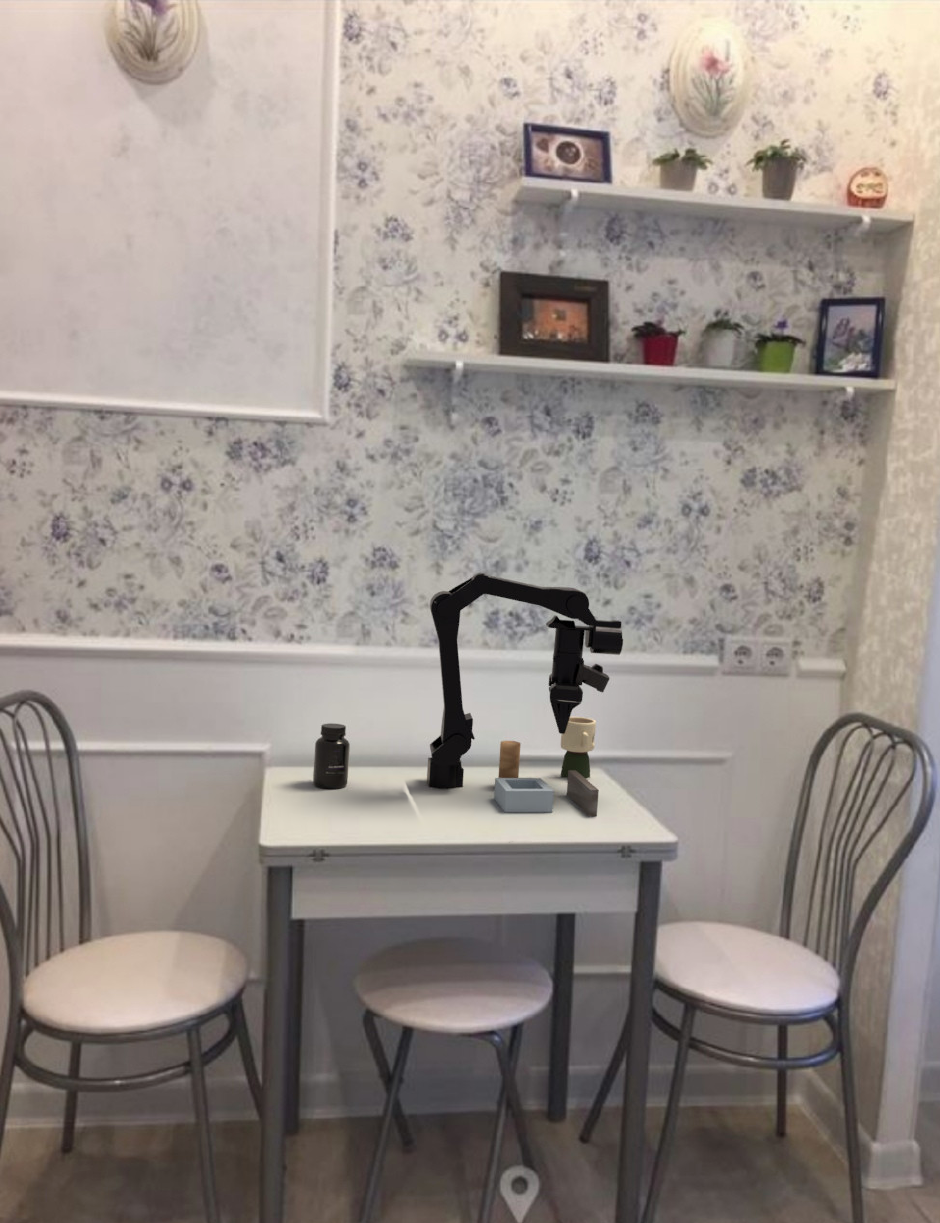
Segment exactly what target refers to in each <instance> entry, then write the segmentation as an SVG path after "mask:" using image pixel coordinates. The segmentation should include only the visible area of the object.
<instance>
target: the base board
mask: <svg viewBox="0 0 940 1223" xmlns="http://www.w3.org/2000/svg"><path fill="white" fill-rule="evenodd" d="M566 785H567V786H566V788H567V789H566V796H567V797H568V798H569V799H570V800H571V801H572V802H574V803H575V805H576V806H578V807H579V808H580V809H581V810H582V811H583V812H584V813H585V814H586V815H587V816H588V817H597V816H598V805H599V804H598V803H599V789H598V788H597V787H596V786H595V785H594V784H593V783H591V782H590V781H589V780H588V779H587V778H586V779H585V778H584V777H583V776H582V775H581V774H579V773H578V772H577V771H576V770H568V778H567V784H566Z"/></svg>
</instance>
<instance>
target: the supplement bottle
mask: <svg viewBox="0 0 940 1223" xmlns="http://www.w3.org/2000/svg"><path fill="white" fill-rule="evenodd" d="M346 732H347V730H346V725H345V724H340V723H333V722H332V723H322V724H321V729H320V735H321V737H319V738H317V740H316V741H315V744H314V758H313V773H312V774H313V775H312V776H313V777H312V778H313V779H312V781H313V785H314V786H315V787H318V788H321V789H324V790H325V789H327V790H334V789H335V790H338V789H342V788H345V787H346V786H347V785H348V781H349V780H348V779H349V762H350V749H351V748H350V747H351V745H350V741H349V740H348V739H346V738H345V737H346V735H347V733H346Z"/></svg>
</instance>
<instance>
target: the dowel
mask: <svg viewBox="0 0 940 1223" xmlns="http://www.w3.org/2000/svg"><path fill="white" fill-rule="evenodd" d="M520 757H521V742H519V741H515V740H502V741H500V745H499V764H498V777H497V778H519V773H520Z"/></svg>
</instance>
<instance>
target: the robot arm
mask: <svg viewBox="0 0 940 1223" xmlns="http://www.w3.org/2000/svg"><path fill="white" fill-rule="evenodd" d="M483 595H490V596H494V597H498V598H503V599H507V600H512V601H516V602H521V603H527V604H530V605H535V606H539V607H542V608H545V609H548V610H549V611H552V612H554V613H557V614H558V615H561V616H564V617H566V618H569V619H568V620H567V619H560V618H559V617H558V615H557V614H556V615H553V617H552V618H551V619H550V620H548V621H546V623H545V626H546V627H547V628H549V629H555V634H554V643H553V644H554V646H553V654H552V667H551V668H552V669H551V673H550V675H548V691H549V703H550V705H551V709H552V713H553V717H554V719H555V723H556V727H557V731H558V734H560V735H561V734H564V733H565V731H566V728H567V725H568V722H569V718H570V717H571V715H572V712H573V710H574V709H575V708H576V707H578V706H579V705H580V704H582V702H583V696H584V695H583V693H584V691H583V688H581V686H583V684H585V685H587V686H589V687H592V688H593V689H596V691H597V692H600V693H604V691H605V689H606V687H607V685H608V682H609V681H610V679H611V678H610V676H609V675H608V674H607V673H604V671H603V669H604V668H603V666H602V665H600V664H597V663H595V664H593V665H592V666H590V665H586V664H585V660H584V657H583V652H584V643H585V648H586V649H587V648H588V649H589V651H590V653H591V654H601V655H615V656H616V655H617V656H620V655H621V653H622V650H623V646H624V638H623V629H622V621H620V620H619V619H618V620H617V619H615V620H614V619H612V620H605V619H603V620H602V619H601V620H600V619H596V616H594V615H593V612H592V610H591V609H590V601H589V597H588V595H587V594H586V593H585V592H584V591H581V590H579V589H577V588H575V587H567V586H565V587H562V586H541V585H534V584H530V583H526V582H522V581H521V582H520V581H517V580H511V579H507V578H502V577H497V576H493V575H490V574H489V575H488V574H487V573H485V572H478V573H477V572H476V573H475V574H473V576H472V577H470V578H469V579H467V580H464V582H461V583H459V584H458V585H456V586H455V587H453V588H451V589H449V590H447V591H446V590H442V591H438V592H437V593H435V594H434V595H432V597H431V599H430V600H429V610H430V613H431V616H432V621H433V624H434V627H435V628H434V629H435V632H436V637H437V640H438V650H439V663H440V675H441V685H442V697H443V698H442V699H443V710H442V717H441V718H442V719H441V725H440V726H441V727H440V728H441V729H440V735H439V736H438V737H437V738H435V739H434V740H433V741H432V742H431V743H429V750H430V755H431V757H427V772H426V785H427V786H428V788H433V789H439V790H453V789H456V788H463V787H464V770H465V769H464V767H463V766H462V760H461V758H462V756H464V755H465V754H467V753H468V751H470V749H471V746H472V740H475V739H476V738H475V735H474V733H473V724H474V719H473V716H472V714H471V712H467V713H465V711H464V708H463V696H462V693H463V692H462V684H461V681H462V680H461V671H460V670H461V669H460V660H459V657H460V656H459V647H458V635H459V629H460V628H459V627H460V621H461V611H462V610H464V609H465V608H467V607H468V606H470V605H471V604H472V603H474V602H475V601H476V600H477V599H479V598H480V597H482V596H483ZM570 619H571V620H570ZM572 619H573V620H572ZM574 620H578V621H580V622H581V623H583V624H584V625H586V626H584V625H576V623H575V621H574Z"/></svg>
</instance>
